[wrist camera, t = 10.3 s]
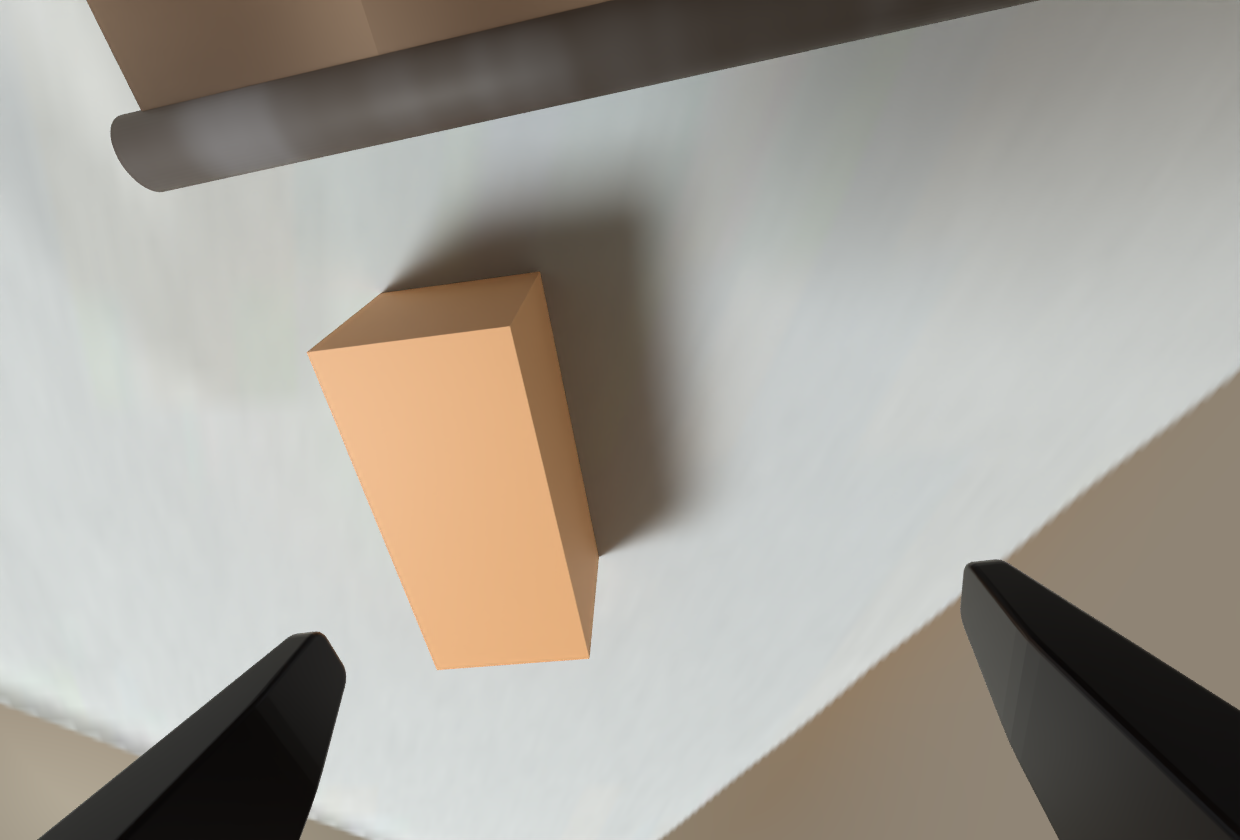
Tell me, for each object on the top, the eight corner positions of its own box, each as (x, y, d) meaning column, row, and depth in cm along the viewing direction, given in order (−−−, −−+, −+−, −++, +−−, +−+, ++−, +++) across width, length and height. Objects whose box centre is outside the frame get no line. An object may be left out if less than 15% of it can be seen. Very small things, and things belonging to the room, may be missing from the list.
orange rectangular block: (541, 269, 17) (510, 326, 13) (599, 553, 22) (589, 658, 18) (383, 291, 17) (306, 352, 13) (474, 564, 22) (437, 669, 18)
